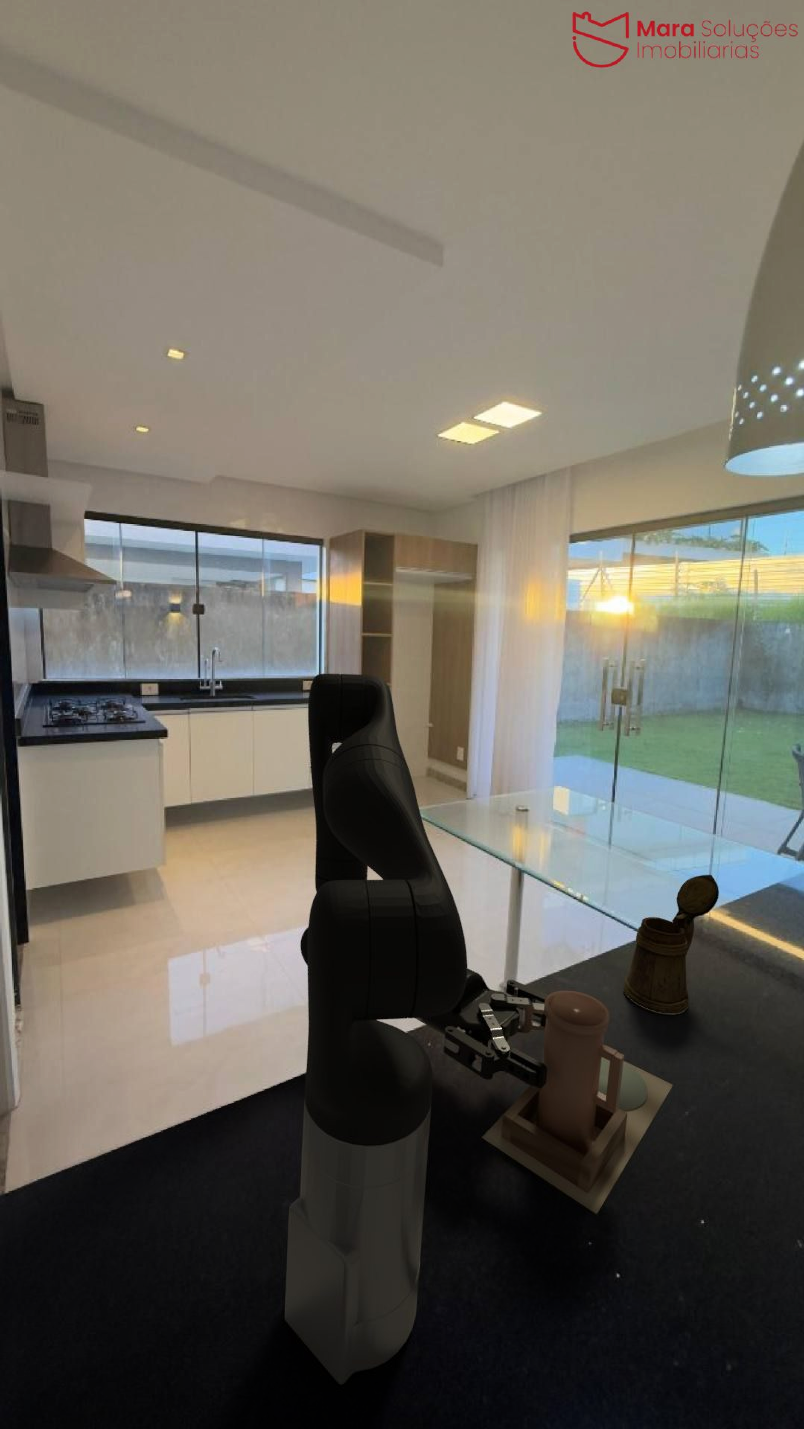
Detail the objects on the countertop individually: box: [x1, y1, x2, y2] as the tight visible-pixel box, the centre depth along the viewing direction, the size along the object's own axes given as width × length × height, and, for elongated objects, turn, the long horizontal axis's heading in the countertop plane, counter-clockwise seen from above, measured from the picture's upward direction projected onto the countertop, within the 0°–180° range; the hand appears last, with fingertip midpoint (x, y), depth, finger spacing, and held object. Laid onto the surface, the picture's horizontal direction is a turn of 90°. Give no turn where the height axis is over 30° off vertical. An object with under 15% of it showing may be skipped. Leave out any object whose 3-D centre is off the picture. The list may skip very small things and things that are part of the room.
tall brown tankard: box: [536, 990, 625, 1156], centre depth 61 cm, size 6×8×14 cm
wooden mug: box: [623, 874, 720, 1013], centre depth 90 cm, size 9×14×18 cm, turn 114°
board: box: [481, 1057, 674, 1215], centre depth 66 cm, size 22×12×4 cm, turn 140°
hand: (564, 1056), depth 62 cm, fingers open, 8 cm apart
